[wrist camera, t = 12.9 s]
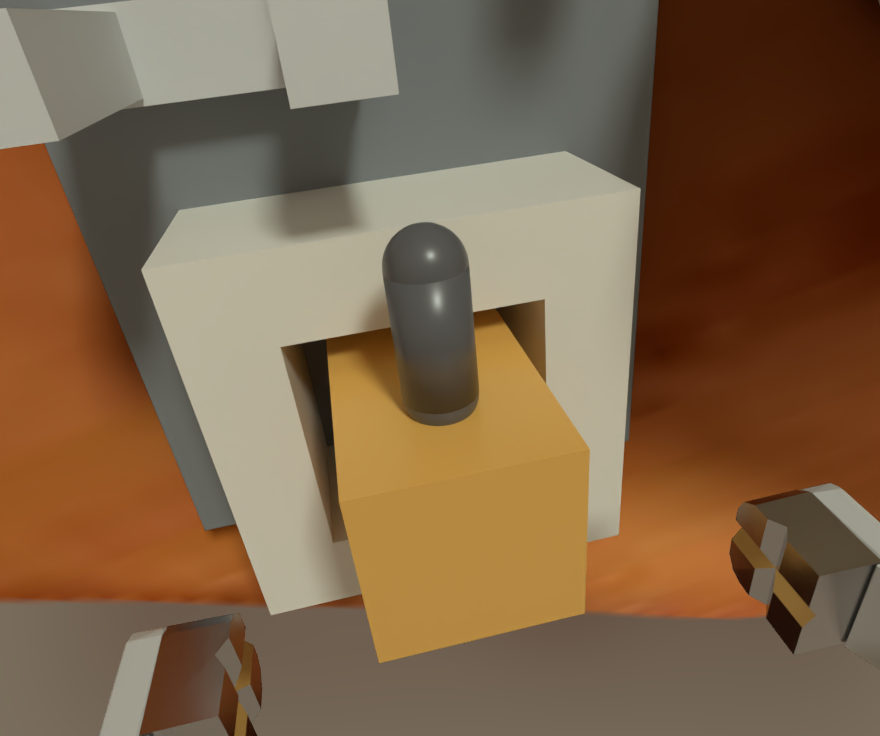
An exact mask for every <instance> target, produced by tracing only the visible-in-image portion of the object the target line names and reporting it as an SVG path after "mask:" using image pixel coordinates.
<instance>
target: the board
mask: <svg viewBox="0 0 880 736" xmlns="http://www.w3.org/2000/svg"><path fill="white" fill-rule="evenodd" d="M658 4H659V0H0V149H3V148H11V147H18V146H25V145H33V144H40V143H45V145H46V148H47V150H48V153H49V155H50V157H51V160H52V162H53V165H54V167H55V169H56V172H57V174H58V177H59V179H60V182H61V184H62V186H63V189H64V191H65V194H66V196H67V198H68V201H69V203H70V206H71V208H72V210H73V213H74V215H75V218H76V220H77V223H78V225H79V227H80V230H81V232H82V235H83V237H84V239H85V242H86V244H87V247H88V249H89V251H90V254H91V256H92V259H93V261H94V263H95V266H96V268H97V271H98V273H99V276H100V278H101V280H102V283H103V285H104V288H105V290H106V292H107V295H108V297H109V300H110V302H111V304H112V307H113V309H114V312H115V314H116V317H117V319H118V321H119V324H120V326H121V329H122V331H123V333H124V336H125V338H126V341H127V343H128V345H129V348H130V350H131V353H132V355H133V358H134V360H135V362H136V365H137V367H138V370H139V372H140V374H141V377H142V379H143V382H144V384H145V386H146V389H147V391H148V394H149V396H150V398H151V401H152V403H153V406H154V408H155V411H156V413H157V415H158V418H159V420H160V423H161V425H162V427H163V430H164V432H165V435H166V437H167V439H168V442H169V444H170V447H171V449H172V452H173V454H174V456H175V459H176V461H177V464H178V466H179V468H180V471H181V473H182V476H183V478H184V480H185V483H186V485H187V488H188V490H189V493H190V495H191V497H192V500H193V502H194V505H195V507H196V509H197V512H198V514H199V517H200V519H201V521H202V524H203V526H204V529H205V530H210V529H214V528H219V527H224V526H228V525H233V524H237V526H238V529H239V532H240V534H241V537H242V540H243V542H244V545H245V548H246V550H247V553H248V556H249V558H250V561H251V564H252V566H253V569H254V572H255V574H256V577H257V580H258V582H259V585H260V588H261V590H262V593H263V596H264V598H265V601H266V604H267V606H268V609H269V612H270V614H271V615H273V614H277V613H282V612H286V611H291V610H295V609H299V608H304V607H308V606H312V605H317V604H321V603H325V602H330V601H334V600H338V599H343V598H347V597H351V596H356V595H360V594H362V593H361V589H360V585H359V581H358V577H357V573H356V569H355V565H354V561H353V557H352V553H351V548H350V544H349V540H348V536H347V532H346V528H345V524H344V520H343V516H342V512H341V508H340V504H339V496H338V483H337V471H336V458H335V445H334V433H333V420H332V407H331V395H330V382H329V369H328V356H327V344H326V339H328V338H333V337H339V336H344V335H350V334H355V333H361V332H367V331H372V330H378V329H383V328H389V327H391V325H390V319H389V313H388V306H387V300H386V294H385V288H384V281H383V275H382V258H383V254H384V251H385V248H386V246H387V244H388V243H389V241H390V240H391V238H392V237H393V236H394V235H395V234H396V233H397V232H398V231H399V230H401V229H403V228H404V227H406V226H408V225H411V224H414V223H419V222H432V223H436V224H439V225H442V226H444V227H446V228H448V229H450V230H451V231H452V232H453V233H454V234H455V235H456V236H458V237H459V239H460V240H461V242H462V243H463V245H464V247H465V250H466V252H467V254H468V260H469V269H470V281H471V293H472V306H473V312H477V311H482V310H488V309H493V308H496V310H497V311H498V313H499V314H500V316H501V317H502V319H503V320H504V322H505V323H506V325H507V326H508V328H509V329H510V331H511V332H512V334H513V335H514V337H515V338H516V340H517V341H518V343H519V344H520V346H521V347H522V349H523V350H524V352H525V353H526V355H527V356H528V358H529V359H530V361H531V362H532V364H533V365H534V367H535V368H536V370H537V371H538V373H539V374H540V376H541V377H542V379H543V380H544V382H545V383H546V385H547V386H548V388H549V389H550V391H551V392H552V393H553V395H554V396H555V398H556V399H557V401H558V402H559V404H560V405H561V407H562V408H563V410H564V411H565V413H566V414H567V416H568V417H569V419H570V420H571V422H572V423H573V425H574V426H575V428H576V429H577V431H578V432H579V434H580V435H581V437H582V438H583V440H584V441H585V443H586V444H587V446H588V447H589V449H590V462H589V495H588V528H587V542H590V541H594V540H598V539H603V538H607V537H611V536H616V535H619V520H620V504H621V488H622V473H623V457H624V441H628V440H629V428H630V414H631V399H632V385H633V370H634V355H635V341H636V326H637V311H638V297H639V282H640V268H641V253H642V238H643V224H644V209H645V194H646V180H647V165H648V151H649V136H650V121H651V107H652V92H653V77H654V63H655V48H656V33H657V19H658Z"/></svg>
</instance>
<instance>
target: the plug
mask: <svg viewBox="0 0 880 736" xmlns="http://www.w3.org/2000/svg"><path fill="white" fill-rule="evenodd" d="M382 275H383V281H384V288H385V294H386V300H387V306H388V313H389V319H390V325H391V327H389V328H383V329H378V330H372V331H367V332H361V333H355V334H350V335H344V336H339V337H333V338H328V339H326V344H327V356H328V369H329V382H330V395H331V407H332V420H333V433H334V445H335V458H336V471H337V483H338V496H339V504H340V508H341V512H342V516H343V520H344V524H345V528H346V532H347V536H348V540H349V544H350V548H351V553H352V557H353V561H354V565H355V569H356V573H357V577H358V581H359V585H360V589H361V593H362V597H363V601H364V605H365V609H366V613H367V617H368V621H369V624H370V629H371V633H372V637H373V641H374V645H375V649H376V653H377V657H378V661H379V663H382V662H386V661H391V660H395V659H399V658H403V657H407V656H411V655H415V654H419V653H423V652H427V651H432V650H436V649H440V648H444V647H448V646H452V645H456V644H460V643H465V642H468V641H473V640H477V639H481V638H485V637H489V636H493V635H497V634H501V633H505V632H510V631H514V630H518V629H522V628H526V627H530V626H534V625H538V624H543V623H547V622H550V621H555V620H559V619H563V618H567V617H571V616H575V615H580V614H584V613H585V593H586V561H587V528H588V495H589V462H590V449H589V447H588V446H587V444H586V443H585V441H584V440H583V438H582V437H581V435H580V434H579V432H578V431H577V429H576V428H575V426H574V425H573V423H572V422H571V420H570V419H569V417H568V416H567V414H566V413H565V411H564V410H563V408H562V407H561V405H560V404H559V402H558V401H557V399H556V398H555V396H554V395H553V393H552V392H551V391H550V389H549V388H548V386H547V385H546V383H545V382H544V380H543V379H542V377H541V376H540V374H539V373H538V371H537V370H536V368H535V367H534V365H533V364H532V362H531V361H530V359H529V358H528V356H527V355H526V353H525V352H524V350H523V349H522V347H521V346H520V344H519V343H518V341H517V340H516V338H515V337H514V335H513V334H512V332H511V331H510V329H509V328H508V326H507V325H506V323H505V322H504V320H503V319H502V317H501V316H500V314H499V313H498V311H497V310H496V308H493V309H488V310H482V311H477V312H473V306H472V293H471V281H470V269H469V260H468V254H467V252H466V250H465V247H464V245H463V243H462V242H461V240H460V239H459V237H458V236H456V235H455V234H454V233H453V232H452V231H451V230H450V229H448V228H446V227H444V226H442V225H439V224H436V223H432V222H419V223H414V224H411V225H408V226H406V227H404V228H403V229H401V230H399V231H398V232H397V233H396V234H395V235H394V236H393V237H392V238H391V240H390V241H389V243H388V244H387V246H386V248H385V251H384V254H383V258H382Z"/></svg>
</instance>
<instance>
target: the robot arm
mask: <svg viewBox="0 0 880 736" xmlns="http://www.w3.org/2000/svg"><path fill="white" fill-rule="evenodd" d="M736 520H737V522H738V523H739V524H740V525H741V527H742V528H741V529H740V530H739V531H738V532H737V533H736V535H735V536H734V537H733V538H732V540H731V546H730V553H729V554H730V558H731V562H732V567H733V570H734V572H735V574H736V576H737V578H738V580H739V582H740V584H741V585H742V587H743V588H744V589H745V591H746V592H747V593H748V595H749V596H751V597H753V598H755V599H757V600H759V601H760V602H762V603H764V604H766V619H767V620H768V621H769V623H770V624H771V625H772V627H773V628H774V629H775V631H776V632H777V633H778V635H779V636H780V637H781V639H782V640H783V641H784V643H785V644H786V645H787V647H788V648H789V649H790V651H791V652H792V653H793V654H794V655H795V654H800V653H804V652H809V651H814V650H818V649H823V648H827V647H832V646H837V645H841V644H845V648H847V649H849V650H850V651H852V652H853V653H855V654H856V655H858V656H859V657H861V658H863V659H864V660H866V661H867V662H869V663H870V664H872V665H874V666H875V667H877V668H878V669H880V522H879V521H878V520H876V519H875V518H874V517H873V516H872V515H871V514H870V513H869V512H868V511H866V510H865V509H864V508H863V507H862V506H861V505H860V504H859V503H857V502H856V501H855V500H854V499H853V498H852V497H851V496H850V495H849V494H847V493H846V492H845V491H844V490H843V489H842V488H840V487H839V486H836V485H834V484H832V483H829V484H824V485H819V486H815V487H810V488H806V489H801V490H794V491H790V492H785V493H781V494H777V495H772V496H768V497H764V498H759V499H755V500H751V501H746V502H744V503H743V504H742V505H741V506H740V507H739V508H738V512H737V516H736ZM244 638H245V625H244V622H243V620H242V618H241V616H240V614H239V613H236V614H230V615H225V616H219V617H214V618H209V619H203V620H198V621H193V622H187V623H182V624H177V625H171V626H167V627H163V628H157V629H153V630H148V631H143V632H138V633H133V634H132V636H131V637H130V639H129V641H128V642H127V643H126V645H125V648H124V651H123V655H122V658H121V661H120V665H119V668H118V671H117V675H116V678H115V682H114V685H113V689H112V692H111V695H110V699H109V702H108V706H107V709H106V713H105V716H104V719H103V723H102V726H101V729H100V733H99V736H257V734H256V732H255V730H254V728H253V725H252V722H253V720H254V719H255V717H256V716H257V714H258V713H259V711H260V710H261V700H262V699H261V698H262V683H261V669H260V665H259V660H258V656H257V653H256V651H255V648H254V646H253V645H252V644H250V643H248V642H246V641H244Z"/></svg>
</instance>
